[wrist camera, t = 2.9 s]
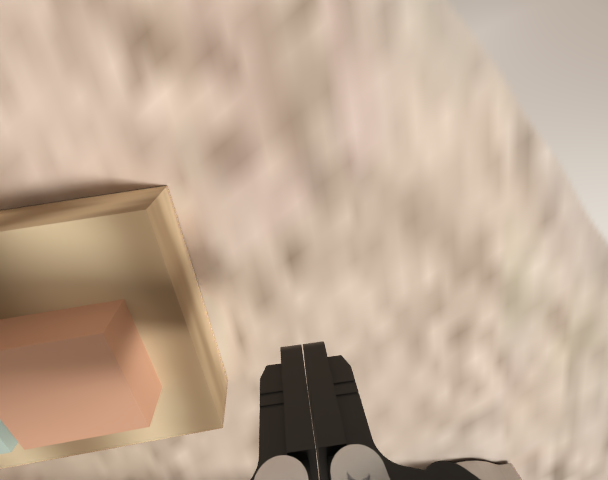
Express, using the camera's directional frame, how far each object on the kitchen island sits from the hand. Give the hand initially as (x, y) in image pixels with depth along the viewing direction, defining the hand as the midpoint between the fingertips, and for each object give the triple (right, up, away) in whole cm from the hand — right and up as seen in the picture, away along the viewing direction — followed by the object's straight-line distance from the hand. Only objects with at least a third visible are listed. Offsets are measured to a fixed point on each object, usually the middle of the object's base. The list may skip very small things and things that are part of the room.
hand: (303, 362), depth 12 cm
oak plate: (-12, 0, +5) cm, 13 cm away
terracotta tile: (-9, -1, +3) cm, 10 cm away
